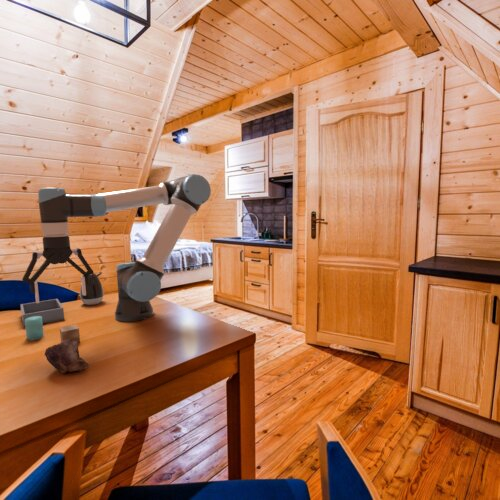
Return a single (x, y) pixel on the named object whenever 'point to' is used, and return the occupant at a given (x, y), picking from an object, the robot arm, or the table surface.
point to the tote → (43, 311)
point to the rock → (65, 357)
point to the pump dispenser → (92, 290)
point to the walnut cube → (69, 333)
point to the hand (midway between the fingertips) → (61, 298)
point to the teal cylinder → (34, 328)
